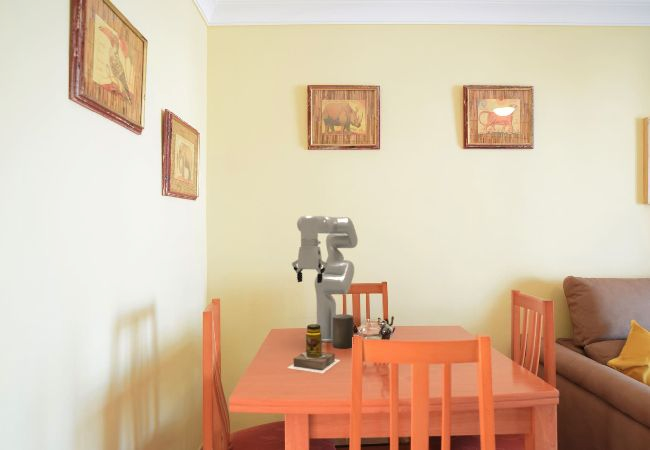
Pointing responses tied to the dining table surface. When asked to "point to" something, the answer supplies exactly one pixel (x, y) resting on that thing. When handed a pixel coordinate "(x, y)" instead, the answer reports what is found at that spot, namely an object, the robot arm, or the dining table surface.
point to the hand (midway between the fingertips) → (309, 282)
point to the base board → (314, 369)
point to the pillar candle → (342, 331)
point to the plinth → (314, 361)
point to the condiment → (313, 342)
